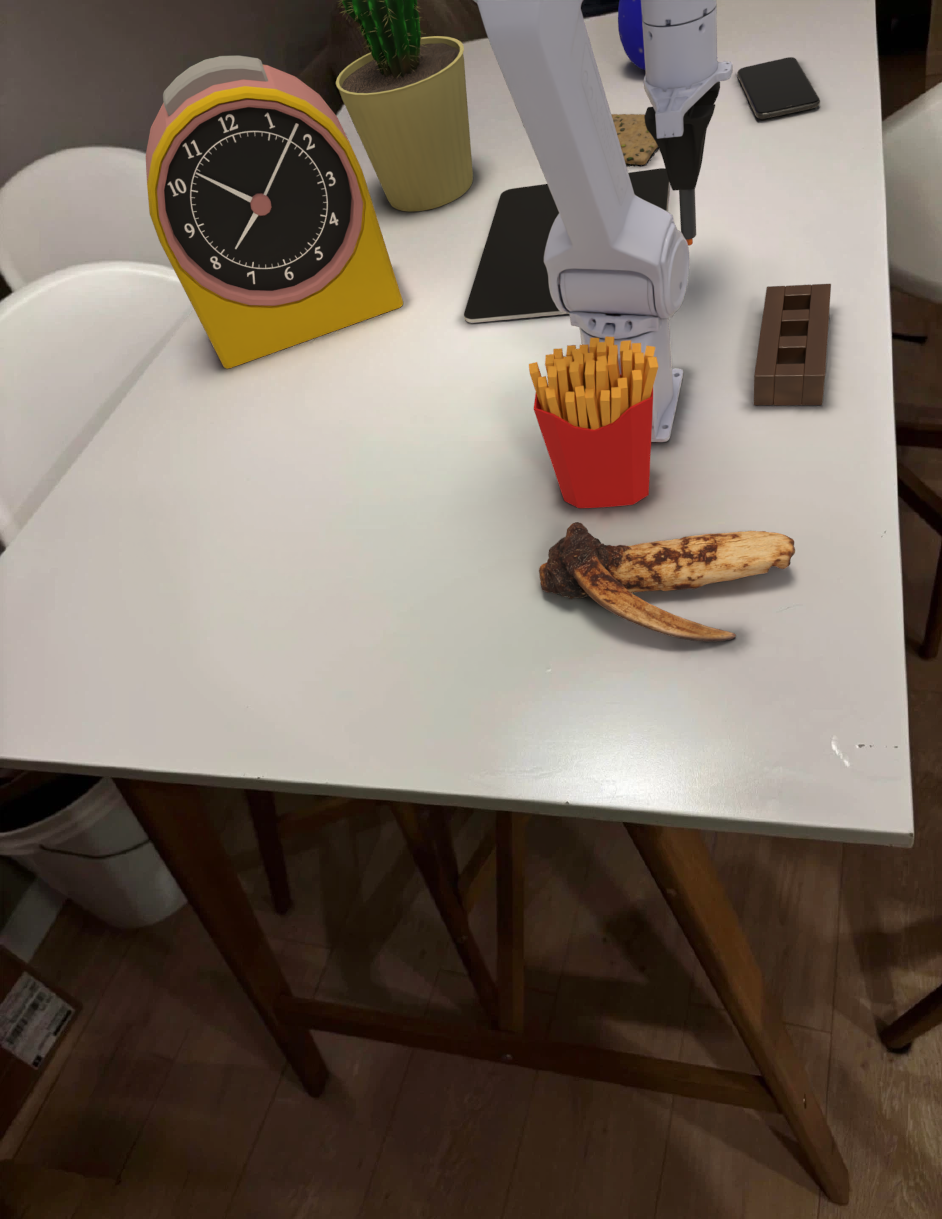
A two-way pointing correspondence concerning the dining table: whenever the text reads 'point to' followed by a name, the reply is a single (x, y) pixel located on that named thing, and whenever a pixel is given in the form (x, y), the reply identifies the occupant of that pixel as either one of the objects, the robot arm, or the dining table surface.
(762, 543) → the lashed bone hook
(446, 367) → the dining table surface
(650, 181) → the tablet
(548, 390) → the french fries
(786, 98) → the smartphone
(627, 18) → the ornament
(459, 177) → the potted cactus
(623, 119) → the cookie
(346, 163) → the alarm clock
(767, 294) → the stand
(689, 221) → the stylus
